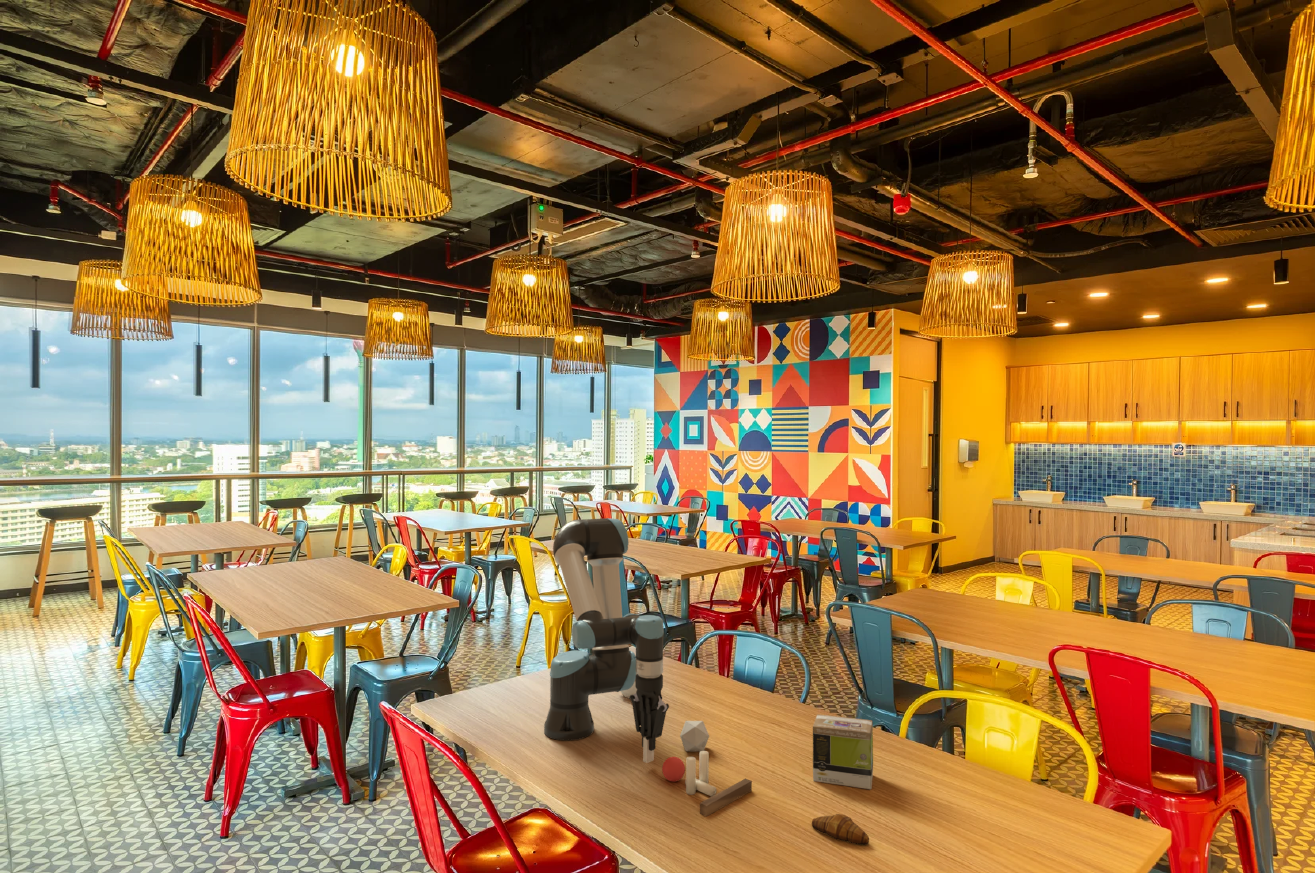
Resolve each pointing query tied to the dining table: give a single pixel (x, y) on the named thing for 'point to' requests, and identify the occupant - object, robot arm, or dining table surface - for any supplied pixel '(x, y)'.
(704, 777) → the back pin left
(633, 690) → the lidded jar
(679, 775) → the ball
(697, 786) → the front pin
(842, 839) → the croissant
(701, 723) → the die
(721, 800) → the back rail
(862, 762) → the tea box
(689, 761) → the back pin right
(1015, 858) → the dining table surface
